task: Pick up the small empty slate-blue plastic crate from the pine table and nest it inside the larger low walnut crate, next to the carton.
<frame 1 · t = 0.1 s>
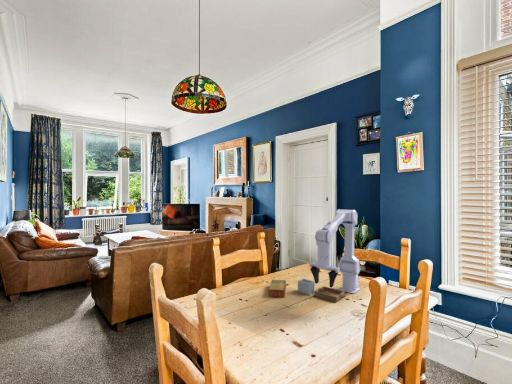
hand: (324, 284, 127), 10 cm above the table, fingers open, 7 cm apart
carton: (277, 292, 146), on the table
big crate: (329, 296, 139), on the table
small crate: (306, 292, 144), on the table
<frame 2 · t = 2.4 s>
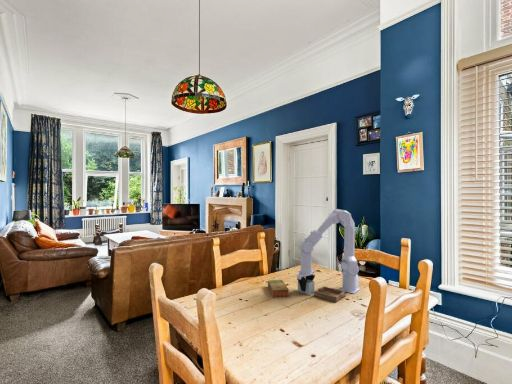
hand: (306, 289, 144), 1 cm above the table, fingers closed on small crate, 5 cm apart
small crate: (306, 292, 144), on the table, touching gripper
when the fingers open (4 cm above the table, at t = 5.5 s): small crate drops 1 cm, resting on big crate.
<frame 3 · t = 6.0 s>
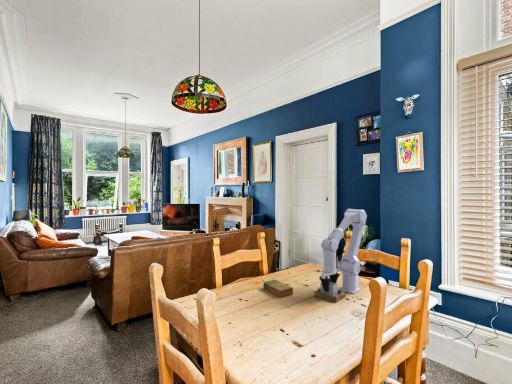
hand: (329, 289, 139), 4 cm above the table, fingers open, 7 cm apart
small crate: (329, 295, 139), point 1 cm above the table, touching big crate
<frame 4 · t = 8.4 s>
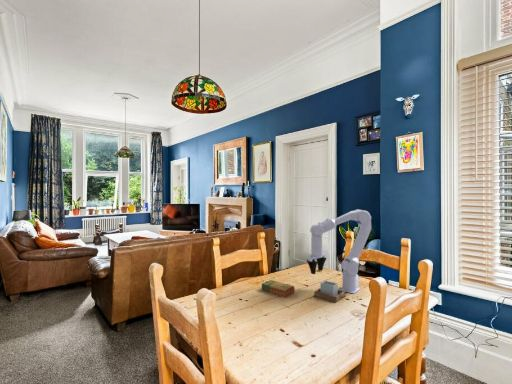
hand: (316, 272, 147), 10 cm above the table, fingers open, 7 cm apart
at the end: small crate 0.3 cm off-centre on the big crate, point 0.6 cm above the big crate's base; small crate tilted 0°; the gripper is holding nothing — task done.
